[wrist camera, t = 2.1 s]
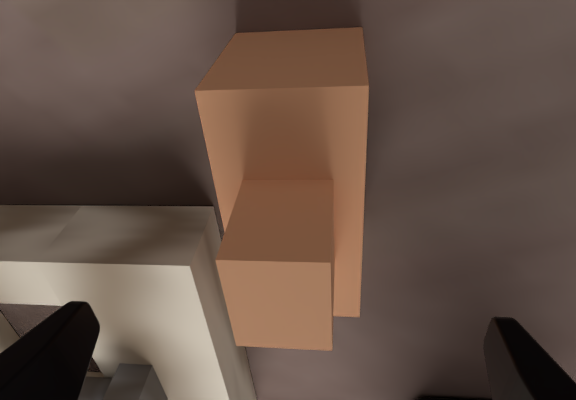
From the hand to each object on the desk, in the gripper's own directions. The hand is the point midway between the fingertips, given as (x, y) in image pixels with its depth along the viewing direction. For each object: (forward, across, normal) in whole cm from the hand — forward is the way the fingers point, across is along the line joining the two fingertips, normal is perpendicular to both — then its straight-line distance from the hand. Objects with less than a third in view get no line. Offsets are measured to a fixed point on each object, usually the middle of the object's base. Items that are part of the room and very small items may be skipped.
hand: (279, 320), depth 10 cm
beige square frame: (+8, +14, +11) cm, 19 cm away
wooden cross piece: (+8, 0, 0) cm, 8 cm away
